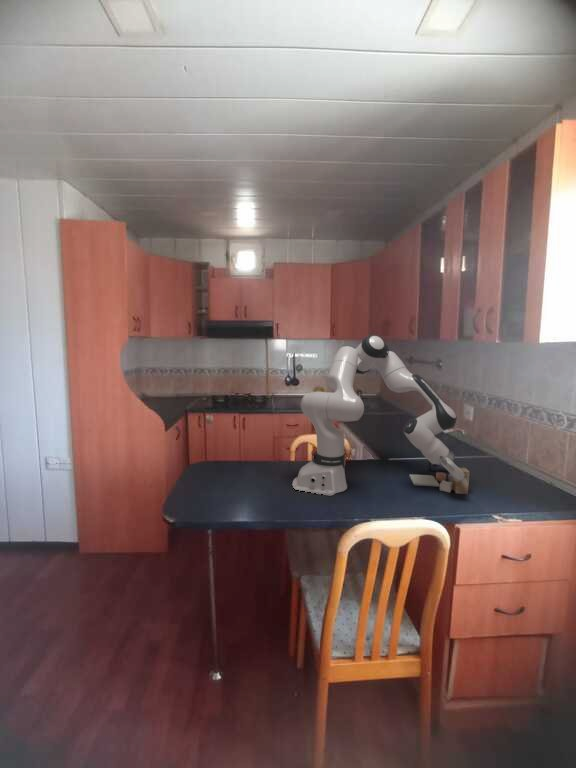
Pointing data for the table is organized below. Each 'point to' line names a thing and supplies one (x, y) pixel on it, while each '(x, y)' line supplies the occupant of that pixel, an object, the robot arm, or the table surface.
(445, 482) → the off-white plastic block
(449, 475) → the grey plastic block
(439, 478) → the terracotta puck
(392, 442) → the table surface
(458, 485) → the beech block
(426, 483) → the coaster
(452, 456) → the dark purple camera
